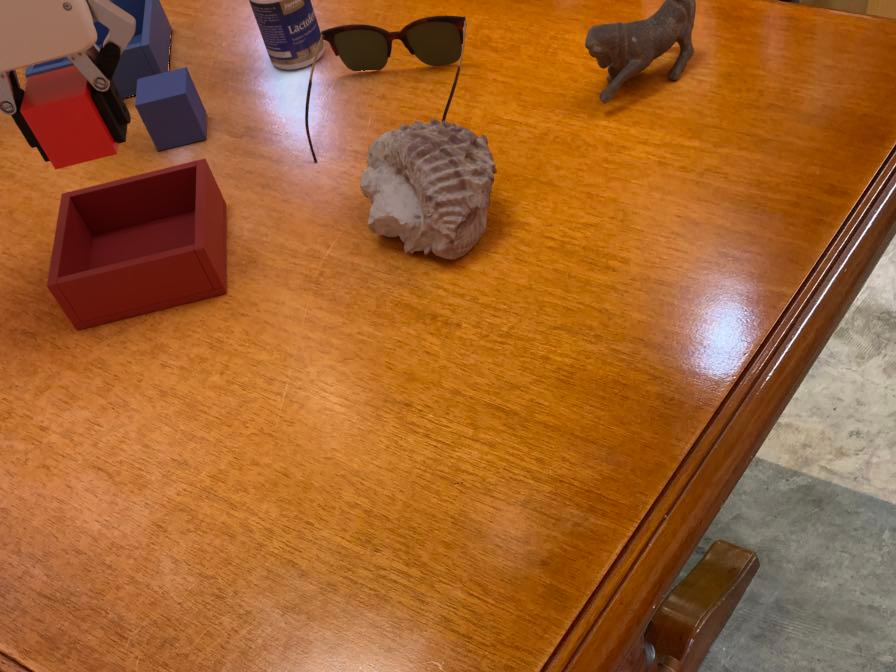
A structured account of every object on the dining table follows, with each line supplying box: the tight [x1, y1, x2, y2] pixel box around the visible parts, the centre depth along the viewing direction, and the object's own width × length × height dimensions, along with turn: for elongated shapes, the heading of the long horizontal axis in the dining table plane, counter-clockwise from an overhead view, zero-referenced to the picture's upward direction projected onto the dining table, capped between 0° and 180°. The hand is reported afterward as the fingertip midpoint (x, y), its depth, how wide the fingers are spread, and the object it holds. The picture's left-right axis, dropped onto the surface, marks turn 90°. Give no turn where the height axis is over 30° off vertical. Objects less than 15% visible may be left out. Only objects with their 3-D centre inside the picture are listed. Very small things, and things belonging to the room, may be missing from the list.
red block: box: [20, 66, 119, 170], centre depth 76 cm, size 5×5×5 cm
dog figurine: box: [584, 0, 697, 104], centre depth 90 cm, size 12×6×7 cm, turn 124°
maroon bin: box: [46, 158, 228, 331], centre depth 85 cm, size 13×13×5 cm
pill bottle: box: [248, 0, 326, 71], centre depth 101 cm, size 6×6×10 cm
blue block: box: [134, 66, 208, 152], centre depth 97 cm, size 5×5×5 cm
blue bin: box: [24, 0, 172, 99], centre depth 107 cm, size 13×13×5 cm
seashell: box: [359, 117, 498, 261], centre depth 83 cm, size 14×9×10 cm
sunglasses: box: [304, 15, 468, 163], centre depth 94 cm, size 14×15×5 cm
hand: (86, 140), depth 78 cm, fingers closed on red block, 4 cm apart
